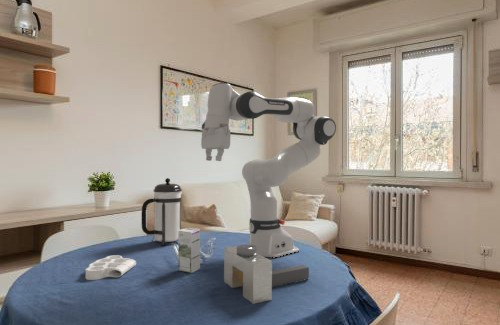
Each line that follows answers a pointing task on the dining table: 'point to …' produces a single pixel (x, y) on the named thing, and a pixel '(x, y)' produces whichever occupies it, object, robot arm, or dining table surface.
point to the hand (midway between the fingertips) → (213, 160)
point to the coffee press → (164, 212)
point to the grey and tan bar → (289, 275)
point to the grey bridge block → (248, 272)
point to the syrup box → (188, 250)
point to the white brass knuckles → (109, 267)
